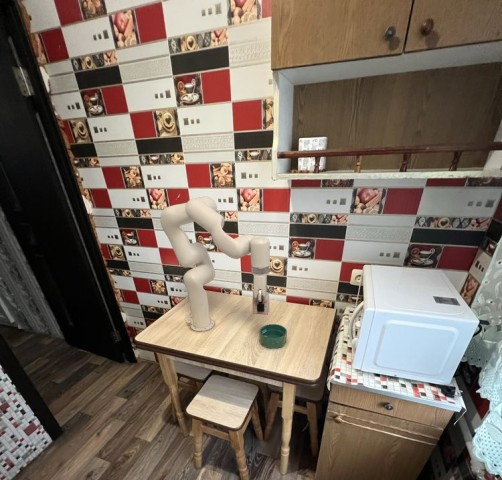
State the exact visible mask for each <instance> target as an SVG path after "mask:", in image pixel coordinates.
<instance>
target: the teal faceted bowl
mask: <svg viewBox="0 0 502 480" xmlns="http://www.w3.org/2000/svg"><path fill="white" fill-rule="evenodd" d="M258 333H259V335H258V337H259V339H258V340H259V343H260V345H261V346H262V347H265V348H267V349H280V348H283V347H284V346H285V345H286V344H287V341H288V339H287V337H288V330H287V328H286V327H285V326H284V325H280V324H277V323H269V324H265V325H263V326H261V327H260V328H259V332H258Z"/></svg>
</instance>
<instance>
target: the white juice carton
mask: <svg viewBox="0 0 502 480" xmlns="http://www.w3.org/2000/svg"><path fill="white" fill-rule="evenodd" d="M261 297H263V296H261ZM269 313H270V292H269V291H266V294H265V298H264V312H257V297H256V298H254V290H253V291H252V315H253V314H254V315H264V316H265V315H266V316H268V315H269Z"/></svg>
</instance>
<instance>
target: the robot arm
mask: <svg viewBox="0 0 502 480" xmlns="http://www.w3.org/2000/svg"><path fill="white" fill-rule="evenodd" d="M160 213H161V214H160V219H159V220H160V225H161V228H162V230H163V232H164V234H165V235H166V237H167V239H168V240H169V243H170V246H171V247H172V250H173V252H174V255H175V256H176V257H175V258H176V259H177V261H178V263H179V265H180V266H181V267H182V268H190V267H192V266H194V265H195V267H193V268H191V269H189V270H187V271H186V272H185V273H184V274H183V276H182V277H183V278H182V280H183V283H184V286H185V289H186V293H187V297H188V302H189V307H190V313H191V317H185V318H184V321H185V323H186V324H190V329H191V330H193V331H196V332H206V331H209V330H211V329H213V327H214V326H215V322H214V320H213V319H212V318H211V313H210V305H209V297H208V293H207V291H206V290H205V288H204V286H206V285H207V284H209V283H210V282H212V281H214V279H215V277H216V269H215V267H214V265H213V261H212V259H211V256H210V254H209V252H208V249H207V248H206V247H205V245H204V244H203V243H201V242H198V241H197V242H196V241H195V242H190V239H189V236H188V235H187V233H186V232H185V230H184V229H182V228H181V226H184V225H188V224H191V223H196V224H197V225H198V226H200V227H201V228H202V229H204V230H205V231H207V232H208V233H209V234H210V235H211V239H212V242H213V243H214V245H215V246H216V248H217V249H218V250H219V251H221V252H222V253H223V254H224V255H226V256H227V257H229V258H231V259H234V260H239V259H242V258H243V257H245V256H247V255H250V272H251V275H253V291H254V298H256V297H257V312H264V298H265V294H266V292H267V285H268V283H267V282H268V281H267V279H268V277H267V275H269V274H270V270H271V269H270V268H271V267H270V266H271V265H270V261H271V260H270V259H271V258H270V256H271V253H270V249H271V247H270V245H271V244H270V240H269V238H268V237H266V236H265V237H264V236H255V235H252V234H248V233H245V234H243V235H240V236H237V237H235V238H233V237H231V236H230V235H229V234H228V233H227V232H225V231H224V230H223V228H224V226H225V217H224V216H223V215H222V214H220V213H219V212H218V207H217V203H216V201H215V200H214V198H212V197H210V196H208V195H204V196H199V197H198V196H197V197H194V198H191V199H189V200H187V202H184V203H179V204H174V205H170V206H167V207H165V208H164V209H163V210H162V211H161V212H160ZM261 296H263V297H261Z"/></svg>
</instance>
